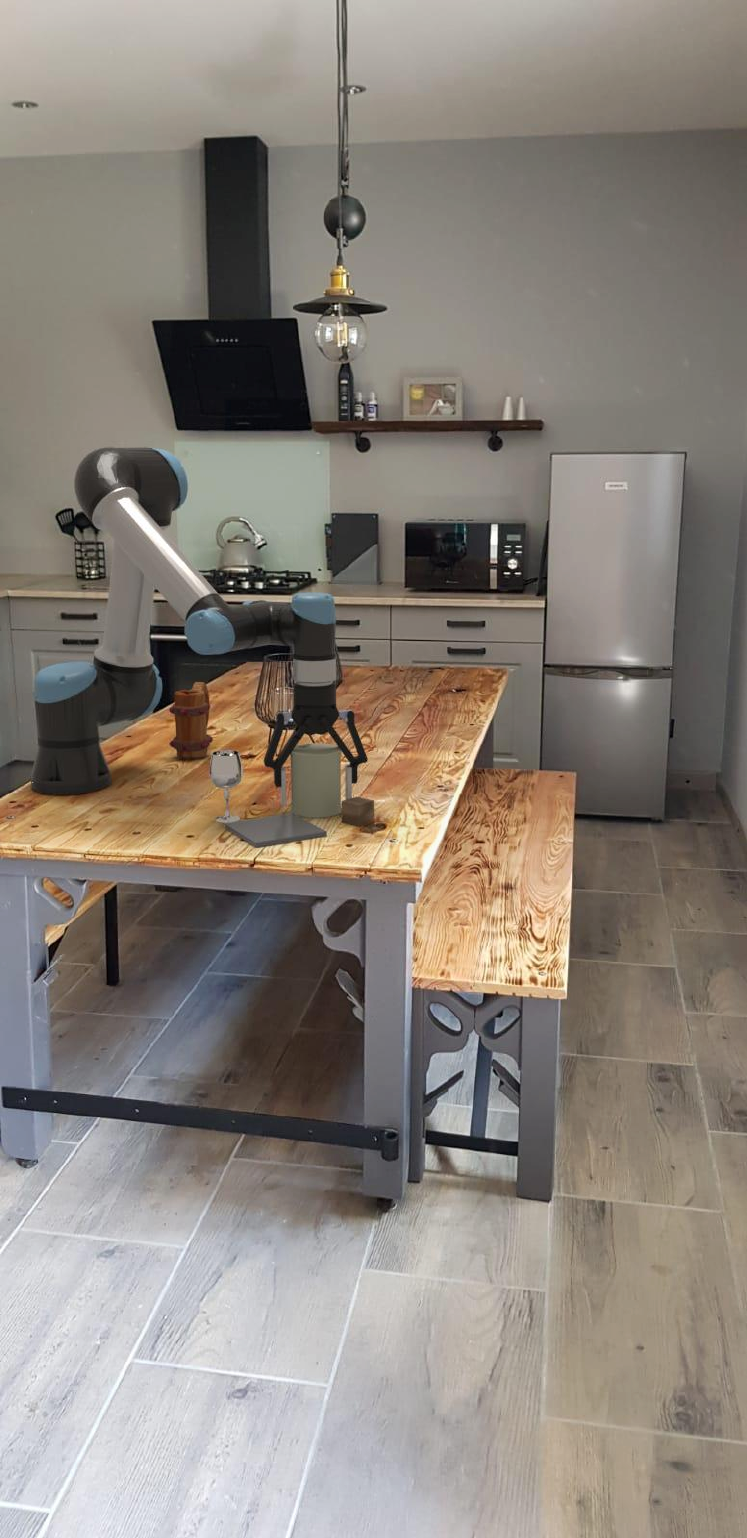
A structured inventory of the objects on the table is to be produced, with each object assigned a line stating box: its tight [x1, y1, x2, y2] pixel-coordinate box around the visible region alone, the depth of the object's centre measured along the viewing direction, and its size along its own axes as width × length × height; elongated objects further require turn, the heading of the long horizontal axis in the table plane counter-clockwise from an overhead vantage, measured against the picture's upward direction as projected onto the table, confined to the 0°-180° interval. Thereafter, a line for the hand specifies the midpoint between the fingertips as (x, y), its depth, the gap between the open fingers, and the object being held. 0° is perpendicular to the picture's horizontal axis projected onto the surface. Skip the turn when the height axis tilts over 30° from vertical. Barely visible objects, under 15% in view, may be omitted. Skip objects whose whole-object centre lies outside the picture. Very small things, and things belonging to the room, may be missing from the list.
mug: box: [168, 681, 214, 760], centre depth 262 cm, size 15×8×15 cm, turn 168°
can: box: [289, 742, 342, 819], centre depth 219 cm, size 9×9×12 cm
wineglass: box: [208, 749, 244, 824], centre depth 214 cm, size 6×6×12 cm
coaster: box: [223, 812, 327, 849], centre depth 208 cm, size 13×13×1 cm
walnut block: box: [341, 796, 375, 828], centre depth 213 cm, size 4×4×4 cm
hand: (316, 802), depth 220 cm, fingers open, 11 cm apart
